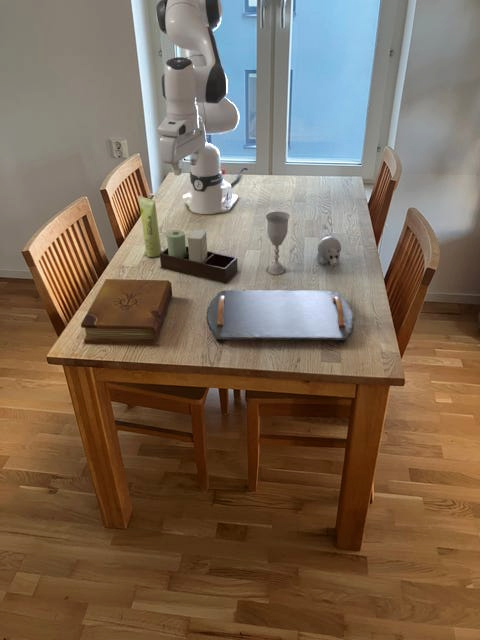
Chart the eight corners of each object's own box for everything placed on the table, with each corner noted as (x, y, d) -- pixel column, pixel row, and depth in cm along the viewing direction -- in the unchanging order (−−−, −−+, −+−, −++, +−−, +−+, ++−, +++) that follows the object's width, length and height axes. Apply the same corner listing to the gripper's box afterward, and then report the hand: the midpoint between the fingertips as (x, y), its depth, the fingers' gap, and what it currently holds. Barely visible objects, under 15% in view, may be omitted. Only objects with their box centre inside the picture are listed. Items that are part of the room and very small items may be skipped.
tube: (143, 258, 171) (136, 201, 160) (145, 250, 175) (138, 195, 164) (161, 257, 171) (154, 200, 160) (162, 250, 175) (156, 194, 164)
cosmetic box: (203, 275, 161) (201, 239, 154) (189, 274, 162) (186, 238, 155) (208, 265, 166) (206, 230, 159) (195, 264, 167) (192, 229, 160)
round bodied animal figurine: (321, 275, 160) (323, 250, 155) (314, 257, 170) (316, 233, 165) (344, 274, 160) (347, 249, 156) (336, 256, 170) (339, 232, 165)
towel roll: (175, 259, 170) (172, 228, 163) (190, 263, 167) (188, 231, 161) (166, 267, 165) (163, 235, 159) (181, 270, 163) (178, 238, 157)
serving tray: (203, 346, 131) (202, 326, 127) (210, 297, 150) (209, 279, 146) (359, 348, 130) (362, 327, 126) (345, 298, 149) (348, 279, 145)
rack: (174, 257, 171) (173, 243, 168) (237, 271, 162) (237, 257, 160) (161, 268, 165) (159, 253, 162) (225, 283, 156) (225, 269, 154)
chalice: (276, 262, 167) (277, 209, 157) (292, 269, 163) (294, 215, 153) (260, 270, 163) (260, 216, 153) (276, 278, 159) (278, 223, 149)
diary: (157, 345, 132) (155, 326, 128) (84, 343, 133) (80, 324, 129) (172, 297, 151) (170, 279, 147) (108, 295, 152) (105, 278, 148)
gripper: (191, 112, 158) (194, 157, 166) (154, 129, 143) (159, 178, 151) (210, 114, 156) (212, 160, 164) (173, 132, 141) (177, 182, 149)
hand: (186, 169), depth 157 cm, fingers open, 8 cm apart
